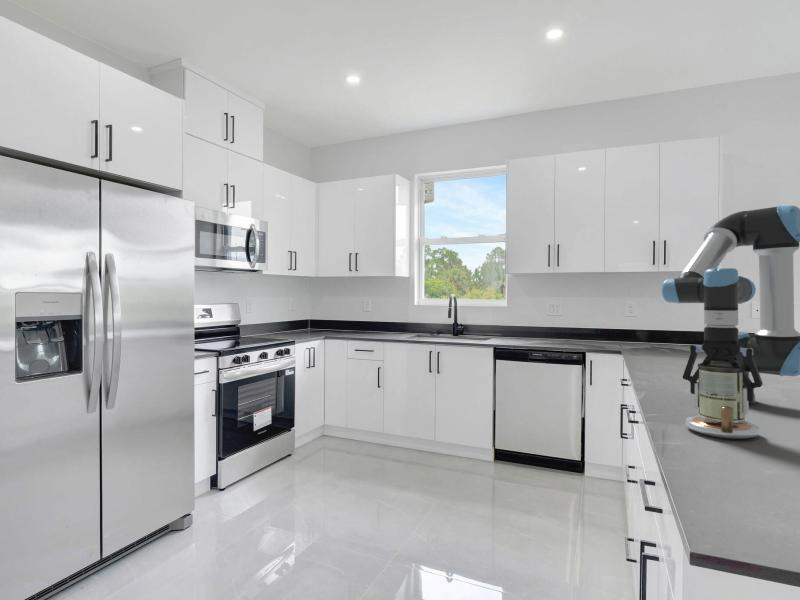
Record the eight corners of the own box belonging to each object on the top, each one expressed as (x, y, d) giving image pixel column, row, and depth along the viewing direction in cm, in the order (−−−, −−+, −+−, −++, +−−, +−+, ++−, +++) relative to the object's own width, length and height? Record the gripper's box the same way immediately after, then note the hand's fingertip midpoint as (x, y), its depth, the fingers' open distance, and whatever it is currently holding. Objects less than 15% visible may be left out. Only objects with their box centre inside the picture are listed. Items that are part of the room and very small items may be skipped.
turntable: (682, 418, 134) (682, 392, 134) (750, 424, 127) (750, 397, 127) (690, 434, 118) (690, 405, 118) (767, 442, 112) (767, 411, 112)
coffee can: (693, 411, 130) (693, 361, 130) (736, 414, 126) (736, 363, 126) (704, 421, 120) (704, 367, 120) (751, 424, 117) (751, 369, 116)
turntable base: (700, 423, 132) (700, 421, 132) (752, 432, 123) (752, 429, 123) (689, 433, 123) (689, 430, 123) (744, 442, 115) (744, 439, 115)
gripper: (669, 325, 128) (669, 405, 128) (773, 329, 112) (773, 420, 113) (676, 324, 134) (676, 400, 134) (777, 327, 118) (777, 414, 118)
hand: (721, 409), depth 123 cm, fingers closed on coffee can, 10 cm apart
